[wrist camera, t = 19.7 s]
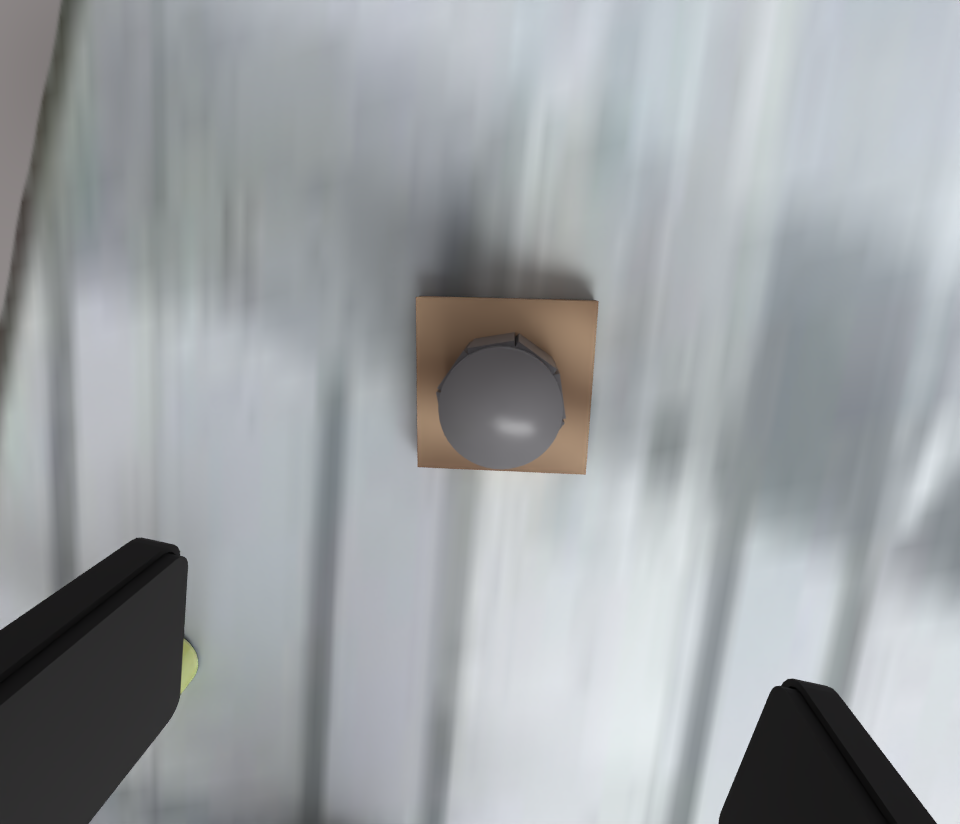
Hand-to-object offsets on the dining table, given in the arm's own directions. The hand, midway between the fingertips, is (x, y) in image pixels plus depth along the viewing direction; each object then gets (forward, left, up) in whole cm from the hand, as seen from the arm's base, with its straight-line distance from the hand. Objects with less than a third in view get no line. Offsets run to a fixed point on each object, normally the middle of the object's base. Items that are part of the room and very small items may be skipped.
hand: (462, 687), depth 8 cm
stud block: (0, 0, -24) cm, 24 cm away
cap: (0, 0, -23) cm, 23 cm away
